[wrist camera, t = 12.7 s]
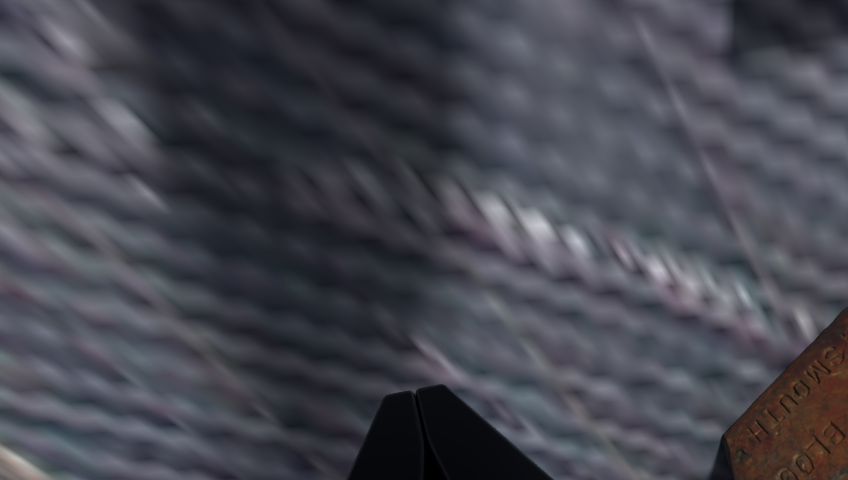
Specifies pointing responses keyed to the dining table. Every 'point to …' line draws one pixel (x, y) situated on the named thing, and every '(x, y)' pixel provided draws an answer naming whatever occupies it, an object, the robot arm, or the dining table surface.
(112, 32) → the dining table surface
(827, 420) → the brown wedge block
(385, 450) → the robot arm
